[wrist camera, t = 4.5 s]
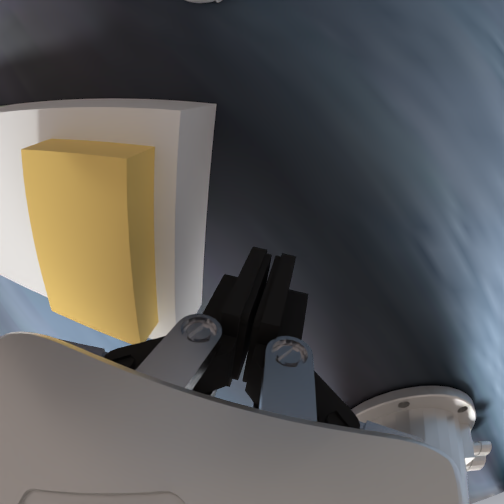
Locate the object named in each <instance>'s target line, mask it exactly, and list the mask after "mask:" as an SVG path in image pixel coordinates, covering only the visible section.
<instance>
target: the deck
mask: <svg viewBox="0 0 504 504" xmlns="http://www.w3.org/2000/svg"><path fill="white" fill-rule="evenodd" d="M216 105H217V104H212V103H202V102H190V101H176V100H158V99H122V98H106V99H71V100H54V101H41V102H30V103H20V104H12V105H8V106H4V107H0V275H2V276H4V277H6V278H8V279H10V280H12V281H14V282H16V283H18V284H20V285H22V286H24V287H26V288H28V289H30V290H32V291H34V292H37V293H39V294H41V295H43V296H45V297H48V296H47V292H46V289H45V285H44V282H43V278H42V274H41V270H40V266H39V262H38V258H37V253H36V249H35V244H34V239H33V235H32V229H31V224H30V218H29V213H28V206H27V200H26V193H25V185H24V177H23V168H22V157H21V149H23V148H26V147H28V146H31V145H34V144H37V143H40V142H42V141H45V140H48V139H71V140H87V141H101V142H114V143H125V144H135V145H145V146H154V147H155V160H154V248H155V274H156V293H157V308H158V321H159V322H158V324H157V325H156V327H155V328H154V330H153V331H152V332H151V334H150V335H149V337H148V338H151V339H156V338H159V337H163V336H166V335H167V334H168V333H169V332H170V330H171V329H172V328H173V327H174V326H175V325H176V324H177V323H178V321H179V320H181V319H182V318H183V317H185V316H188V315H191V314H196V313H197V311H198V309H199V308H200V306H201V304H202V284H203V265H204V247H205V231H206V217H207V203H208V190H209V178H210V166H211V155H212V144H213V134H214V124H215V115H216Z"/></svg>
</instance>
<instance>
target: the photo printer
mask: <svg viewBox="0 0 504 504" xmlns="http://www.w3.org/2000/svg"><path fill="white" fill-rule="evenodd" d="M185 1H188V2H192V3H209V2H213V1H215V2H221V1H222V0H185Z"/></svg>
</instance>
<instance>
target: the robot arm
mask: <svg viewBox="0 0 504 504" xmlns="http://www.w3.org/2000/svg"><path fill="white" fill-rule="evenodd" d="M271 256H272V255H271V254H267V250H266V249H261V248H257V247H252V249H251V251H250V253H249V256H248V258H247V260H246V262H245V264H244V266H243V268H242V270H241V272H240V274H239V276H238V277H235V276H230V275H226V274H225V275H224V276H223V278H222V279H221V281H220V283H219V285H218V287H217V288H216V290H215V292H214V294H213V296H212V298H211V299H210V301H209V303H208V305H207V307H206V309H205V310H204V312H203V314H191V315H188V316H185V317H183V318H182V319H181V320H179V321H178V323H177V324H176V325H175V326H174V327H173V328H172V329H171V330H170V332H169V333H168V334H167V335H166V336H163V337H159V338H156V339H152V340H148V341H145V342H141V343H137V344H133V345H129V346H125V347H121V348H117V349H115V350H112V351H110V352H109V353H108V352H105V350H104V349H103V348H98V347H93V346H88V345H83V344H78V343H74V342H69V341H65V340H61V339H56V338H53V337H50V336H46V335H42V334H38V333H30V332H11V333H8V334H5V335H3V336H1V337H0V504H470V503H469V489H468V478H467V471H473V470H480V469H481V468H482V467H483V466H484V464H485V461H486V455H488V454H489V453H490V451H491V442H489V441H478V442H473V441H472V438H471V432H470V431H471V429H472V428H473V426H474V424H475V420H476V411H475V407H474V404H473V401H472V399H471V398H470V397H469V396H468V395H467V394H466V393H464V392H462V391H460V390H458V389H454V388H451V387H444V386H418V387H410V388H404V389H400V390H395V391H391V392H388V393H385V394H382V395H379V396H376V397H374V398H372V399H369V400H367V401H365V402H363V403H361V404H359V405H358V406H356V407H354V408H353V409H350V408H349V407H348V406H347V405H346V404H345V403H344V402H343V401H342V400H341V399H340V398H339V397H338V396H337V395H336V393H335V392H334V391H333V390H332V389H331V388H330V387H329V386H328V385H327V384H326V383H325V382H324V381H323V380H322V379H321V378H320V376H319V375H318V374H317V373H316V372H315V371H314V364H313V354H312V350H311V349H310V347H309V346H308V345H307V344H306V343H305V342H304V341H302V340H301V339H302V333H303V326H304V320H305V313H306V307H307V300H308V294H306V293H302V292H297V291H293V290H289V285H290V281H291V277H292V272H293V268H294V263H295V259H296V256H292V255H287V254H283V253H282V256H281V257H279V256H276V257H275V260H274V263H273V266H272V269H271V272H270V275H269V278H268V280H267V277H268V272H269V267H270V261H271ZM266 282H267V283H266ZM247 352H248V354H247ZM246 355H247V360H246V365H245V370H244V376H243V382H247V384H246V389H245V391H246V392H247V394H248V395H249V397H250V398H251V399H252V401H253V403H252V407H249V406H245V405H241V404H237V403H233V402H230V401H226V400H223V399H219V398H216V397H215V394H216V392H217V389H219V388H222V387H225V386H229V387H230V385H231V382H232V379H236V380H238V379H239V376H240V373H241V370H242V367H243V364H244V361H245V358H246Z"/></svg>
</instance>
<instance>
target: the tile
mask: <svg viewBox="0 0 504 504" xmlns="http://www.w3.org/2000/svg"><path fill="white" fill-rule="evenodd" d="M21 157H22V168H23V177H24V185H25V193H26V200H27V206H28V213H29V218H30V224H31V229H32V235H33V239H34V244H35V249H36V253H37V258H38V262H39V266H40V270H41V274H42V278H43V282H44V285H45V289H46V292H47V296H48V299H49V303H50V306H51V309H52V311H54V312H56V313H58V314H60V315H62V316H65V317H67V318H69V319H71V320H74V321H76V322H78V323H80V324H83V325H85V326H87V327H90V328H92V329H95V330H97V331H99V332H102V333H104V334H107V335H109V336H112V337H114V338H117V339H119V340H122V341H125V342H127V343H130V344H137V343H141V342H145V341H146V340H147V338H148V337H149V335H150V334H151V332H152V331H153V330H154V328H155V327H156V325H157V324H158V322H159V321H158V308H157V293H156V274H155V248H154V160H155V147H154V146H145V145H135V144H125V143H114V142H101V141H87V140H71V139H48V140H45V141H42V142H40V143H37V144H34V145H31V146H28V147H26V148H23V149H21Z"/></svg>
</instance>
